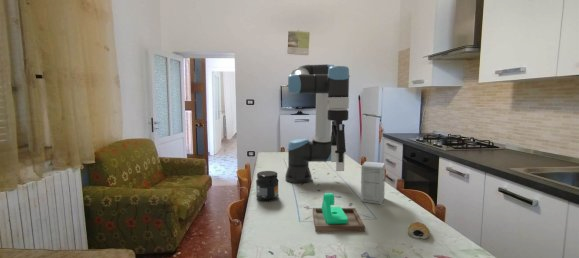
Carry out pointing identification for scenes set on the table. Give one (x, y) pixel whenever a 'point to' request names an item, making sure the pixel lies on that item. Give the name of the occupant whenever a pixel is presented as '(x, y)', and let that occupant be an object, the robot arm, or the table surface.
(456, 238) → the table surface
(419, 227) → the pastry
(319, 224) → the tray
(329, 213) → the camera mount
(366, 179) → the supplement box
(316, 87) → the robot arm
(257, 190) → the supplement container
